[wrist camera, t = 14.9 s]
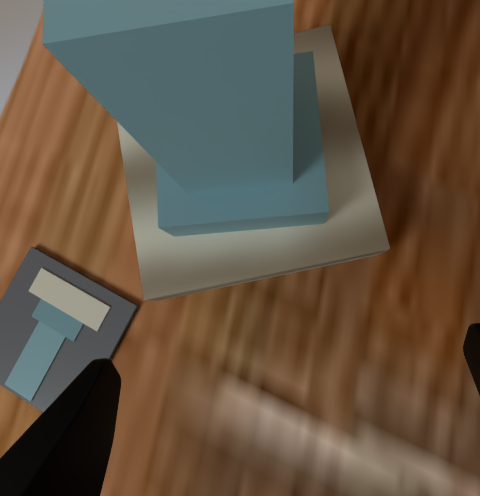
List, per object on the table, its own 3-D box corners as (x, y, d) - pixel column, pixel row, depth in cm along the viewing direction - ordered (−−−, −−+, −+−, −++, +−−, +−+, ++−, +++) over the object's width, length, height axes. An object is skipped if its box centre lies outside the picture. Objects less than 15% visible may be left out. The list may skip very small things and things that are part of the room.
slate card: (73, 429, 22) (69, 431, 21) (-30, 361, 23) (-35, 362, 23) (138, 305, 22) (135, 306, 22) (34, 247, 24) (29, 246, 23)
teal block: (324, 223, 19) (389, 65, 6) (174, 236, 20) (-29, 122, 7) (310, 81, 20) (341, -290, 8) (169, 100, 21) (-12, -199, 9)
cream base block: (376, 256, 22) (390, 248, 19) (162, 300, 23) (144, 300, 20) (324, 58, 24) (329, 23, 21) (132, 108, 25) (111, 82, 22)
